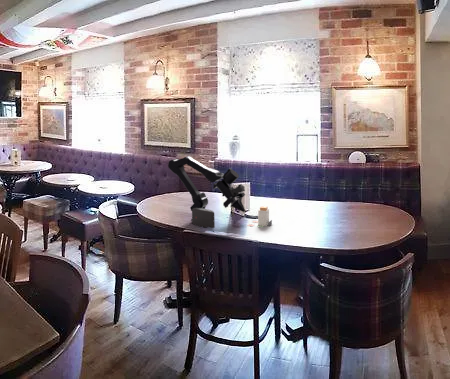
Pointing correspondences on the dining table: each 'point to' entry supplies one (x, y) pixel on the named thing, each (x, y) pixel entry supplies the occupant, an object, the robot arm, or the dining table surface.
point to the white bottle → (263, 216)
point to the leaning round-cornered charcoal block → (203, 217)
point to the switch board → (259, 225)
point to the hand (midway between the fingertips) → (244, 211)
